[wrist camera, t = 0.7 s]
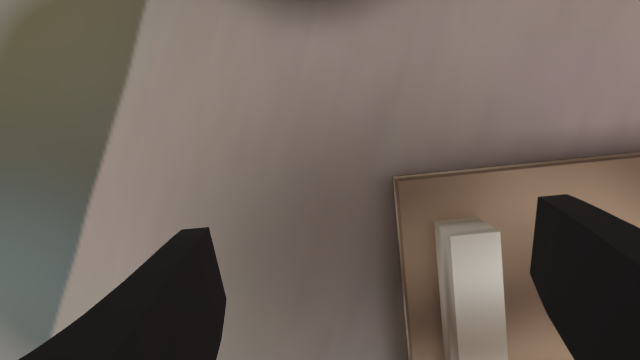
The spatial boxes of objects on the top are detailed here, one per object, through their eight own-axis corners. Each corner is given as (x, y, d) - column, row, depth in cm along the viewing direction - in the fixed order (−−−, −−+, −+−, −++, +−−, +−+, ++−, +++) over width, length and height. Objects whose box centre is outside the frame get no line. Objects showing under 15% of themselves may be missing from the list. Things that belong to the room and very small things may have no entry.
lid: (757, 421, 25) (838, 478, 21) (417, 450, 25) (435, 511, 21) (758, 142, 23) (846, 147, 19) (394, 178, 24) (408, 190, 20)
